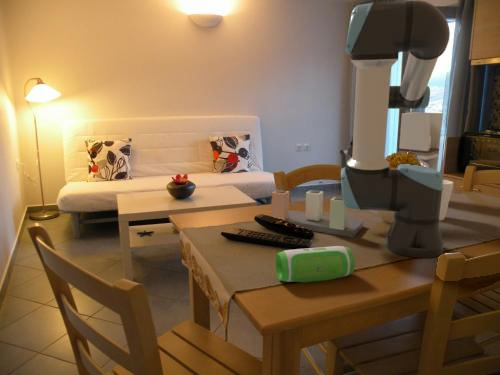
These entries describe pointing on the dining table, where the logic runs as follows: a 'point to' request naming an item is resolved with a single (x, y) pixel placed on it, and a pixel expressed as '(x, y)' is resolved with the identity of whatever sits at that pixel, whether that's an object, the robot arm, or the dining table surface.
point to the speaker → (314, 264)
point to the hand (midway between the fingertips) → (347, 193)
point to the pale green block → (338, 214)
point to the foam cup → (445, 198)
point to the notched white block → (421, 136)
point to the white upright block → (314, 205)
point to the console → (324, 224)
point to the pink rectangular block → (280, 204)
